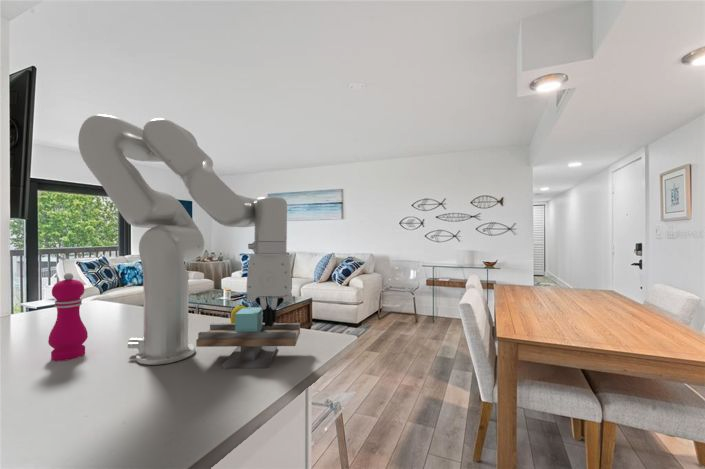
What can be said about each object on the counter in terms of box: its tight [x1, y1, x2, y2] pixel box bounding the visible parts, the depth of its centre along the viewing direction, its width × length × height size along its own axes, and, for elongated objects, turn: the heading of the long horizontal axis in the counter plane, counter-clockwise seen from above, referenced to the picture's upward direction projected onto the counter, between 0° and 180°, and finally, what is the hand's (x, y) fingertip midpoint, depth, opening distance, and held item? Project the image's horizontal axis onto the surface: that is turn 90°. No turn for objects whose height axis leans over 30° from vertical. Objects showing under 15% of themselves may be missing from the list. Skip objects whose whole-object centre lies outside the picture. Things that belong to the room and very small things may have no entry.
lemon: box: [230, 303, 247, 323], centre depth 102 cm, size 6×6×8 cm
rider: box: [235, 307, 263, 332], centre depth 80 cm, size 5×5×5 cm
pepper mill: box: [47, 272, 89, 362], centre depth 80 cm, size 7×7×20 cm
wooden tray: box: [195, 322, 301, 369], centre depth 81 cm, size 22×12×7 cm, turn 93°
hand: (269, 324), depth 81 cm, fingers closed
